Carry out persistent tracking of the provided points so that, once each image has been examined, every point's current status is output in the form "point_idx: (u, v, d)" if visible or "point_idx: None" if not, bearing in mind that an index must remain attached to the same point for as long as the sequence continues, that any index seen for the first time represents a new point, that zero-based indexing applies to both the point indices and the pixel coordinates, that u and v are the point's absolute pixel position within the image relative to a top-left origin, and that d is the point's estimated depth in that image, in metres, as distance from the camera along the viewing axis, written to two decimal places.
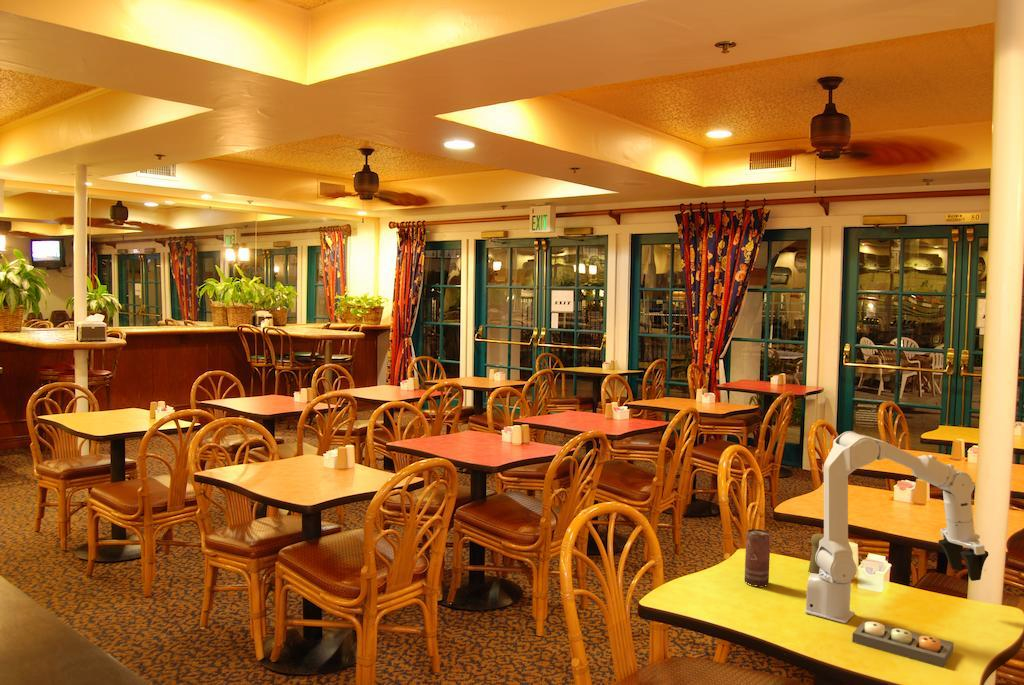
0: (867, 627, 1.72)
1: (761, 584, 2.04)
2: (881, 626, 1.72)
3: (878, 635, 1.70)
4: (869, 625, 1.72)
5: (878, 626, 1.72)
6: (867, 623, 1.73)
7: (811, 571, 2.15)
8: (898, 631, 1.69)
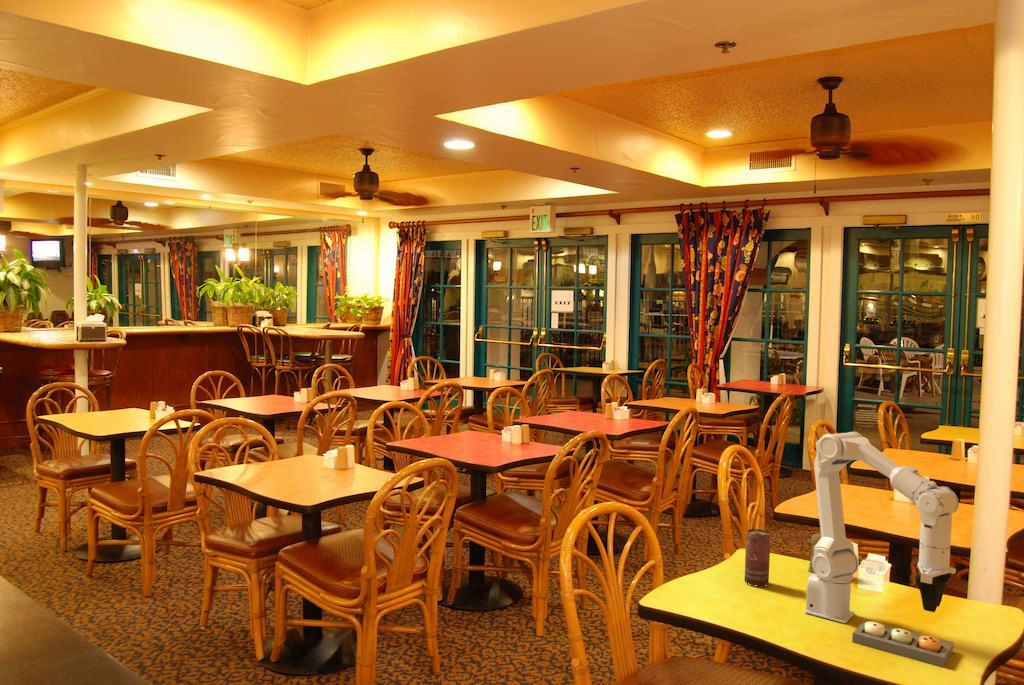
0: (867, 627, 1.72)
1: (761, 584, 2.04)
2: (881, 626, 1.72)
3: (878, 635, 1.70)
4: (869, 625, 1.72)
5: (878, 626, 1.72)
6: (867, 623, 1.73)
7: (811, 571, 2.15)
8: (898, 631, 1.69)
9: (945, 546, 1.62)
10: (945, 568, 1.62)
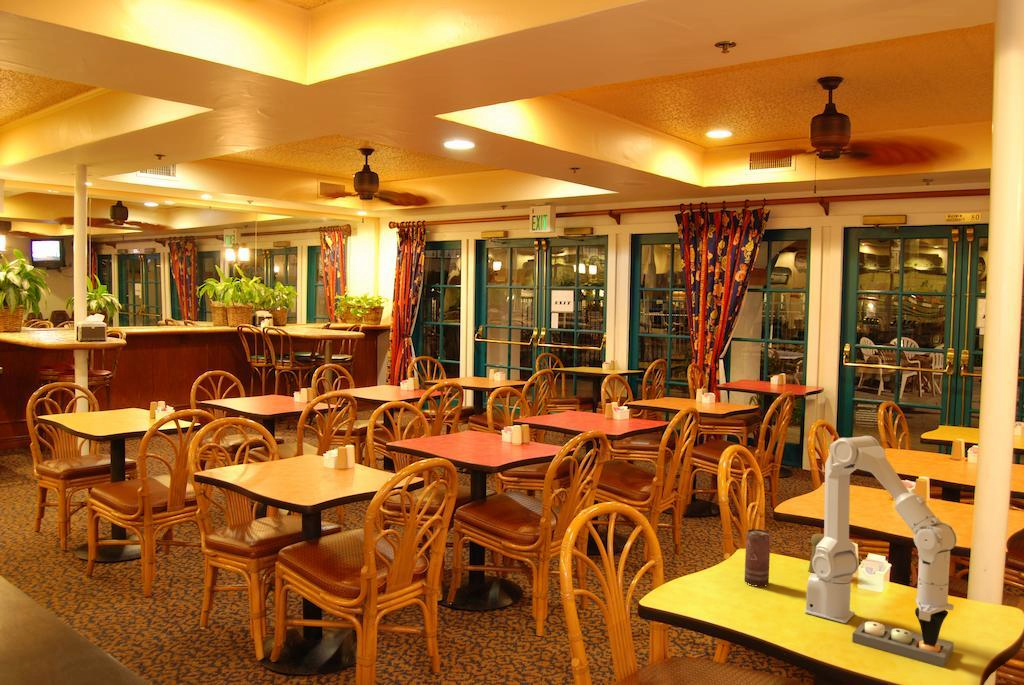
0: (867, 627, 1.72)
1: (761, 584, 2.04)
2: (881, 626, 1.72)
3: (878, 635, 1.70)
4: (869, 625, 1.72)
5: (878, 626, 1.72)
6: (867, 623, 1.73)
7: (811, 571, 2.15)
8: (898, 631, 1.69)
9: (943, 583, 1.62)
10: (943, 605, 1.62)
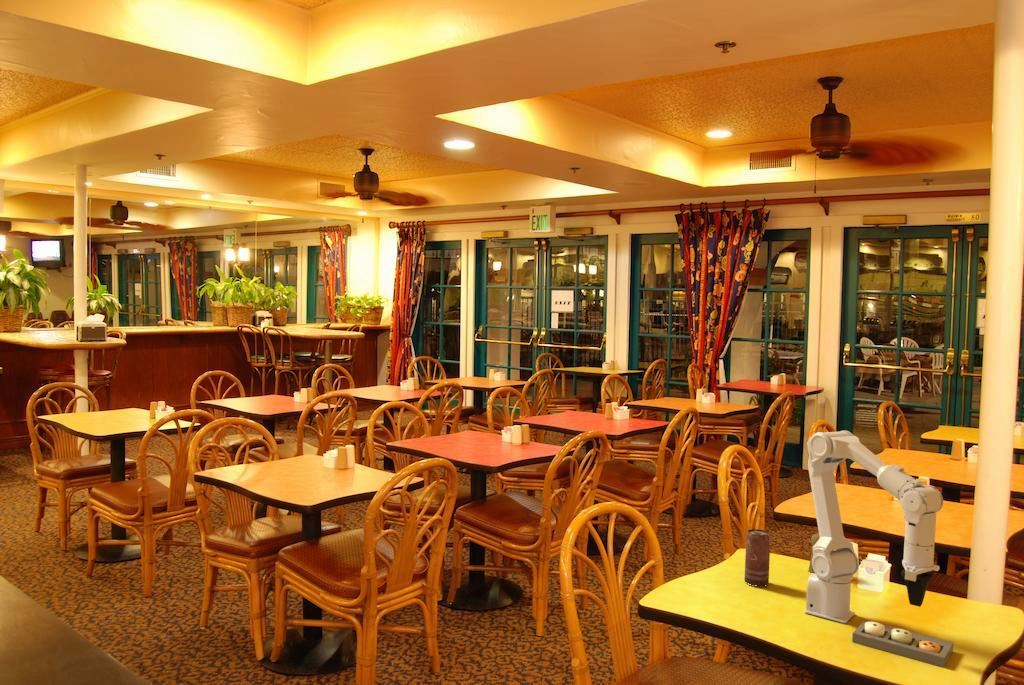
0: (867, 627, 1.72)
1: (761, 584, 2.04)
2: (881, 626, 1.72)
3: (878, 635, 1.70)
4: (869, 625, 1.72)
5: (878, 626, 1.72)
6: (867, 623, 1.73)
7: (811, 571, 2.15)
8: (898, 631, 1.69)
9: (928, 544, 1.63)
10: (929, 565, 1.64)
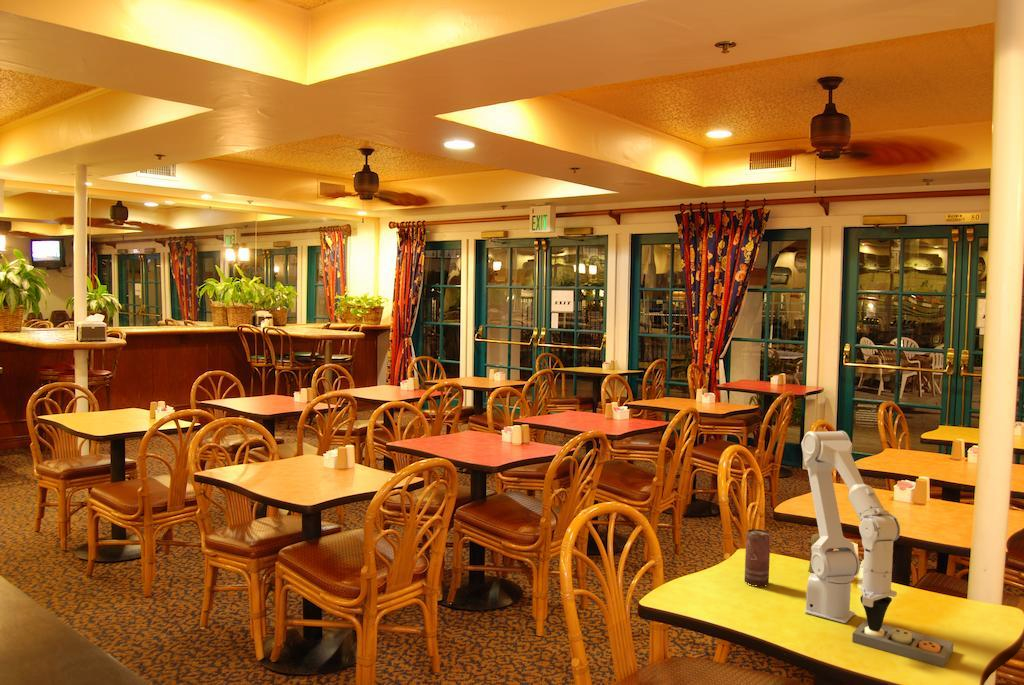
0: (867, 632, 1.72)
1: (761, 584, 2.04)
2: (881, 630, 1.72)
3: None
4: (869, 630, 1.72)
5: None
6: (867, 628, 1.73)
7: (811, 571, 2.15)
8: (898, 631, 1.69)
9: (883, 570, 1.69)
10: (886, 591, 1.69)
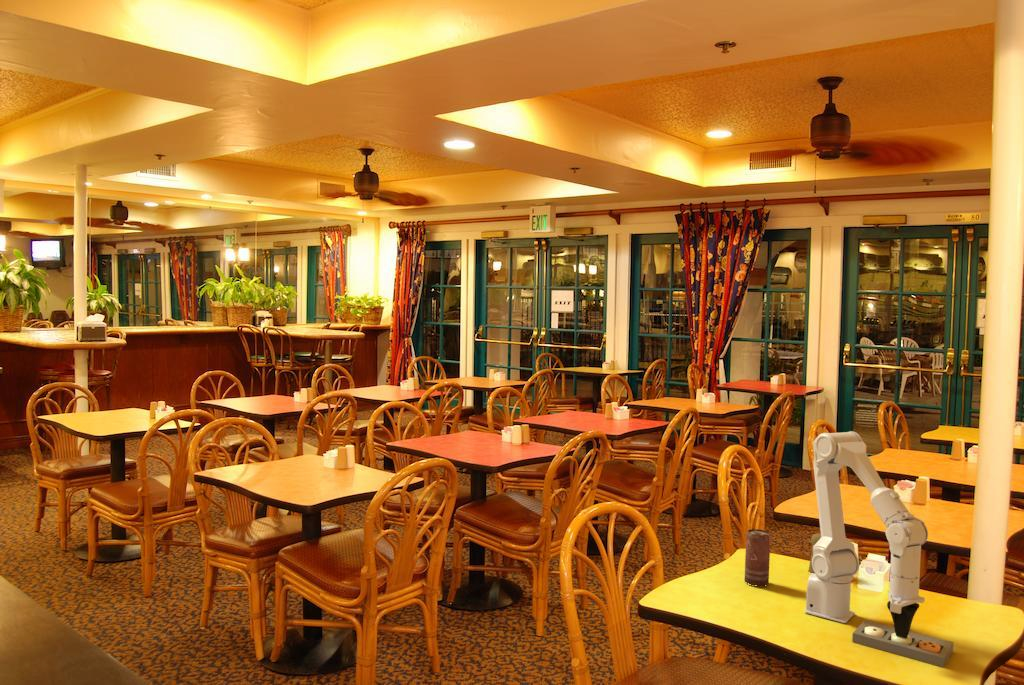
0: (867, 632, 1.72)
1: (761, 584, 2.04)
2: (881, 631, 1.72)
3: None
4: (869, 630, 1.72)
5: (878, 631, 1.72)
6: (867, 628, 1.73)
7: (811, 571, 2.15)
8: None
9: (913, 576, 1.65)
10: (914, 597, 1.66)
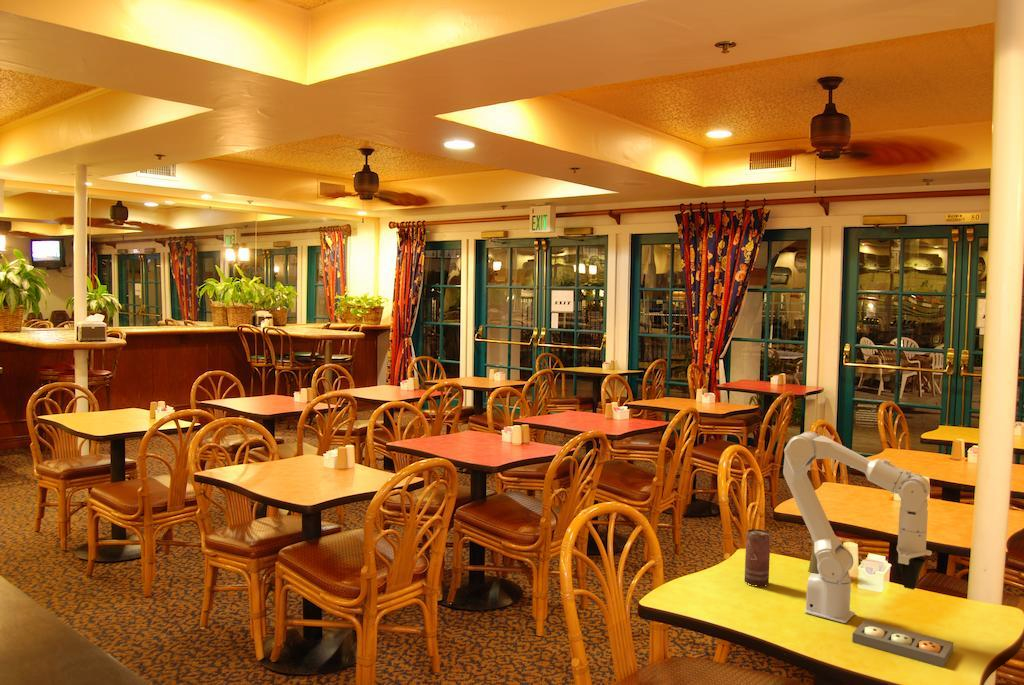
0: (867, 632, 1.72)
1: (761, 584, 2.04)
2: (881, 631, 1.72)
3: None
4: (869, 630, 1.72)
5: (878, 631, 1.72)
6: (867, 628, 1.73)
7: (811, 571, 2.15)
8: (898, 636, 1.69)
9: (925, 529, 1.74)
10: (921, 550, 1.74)
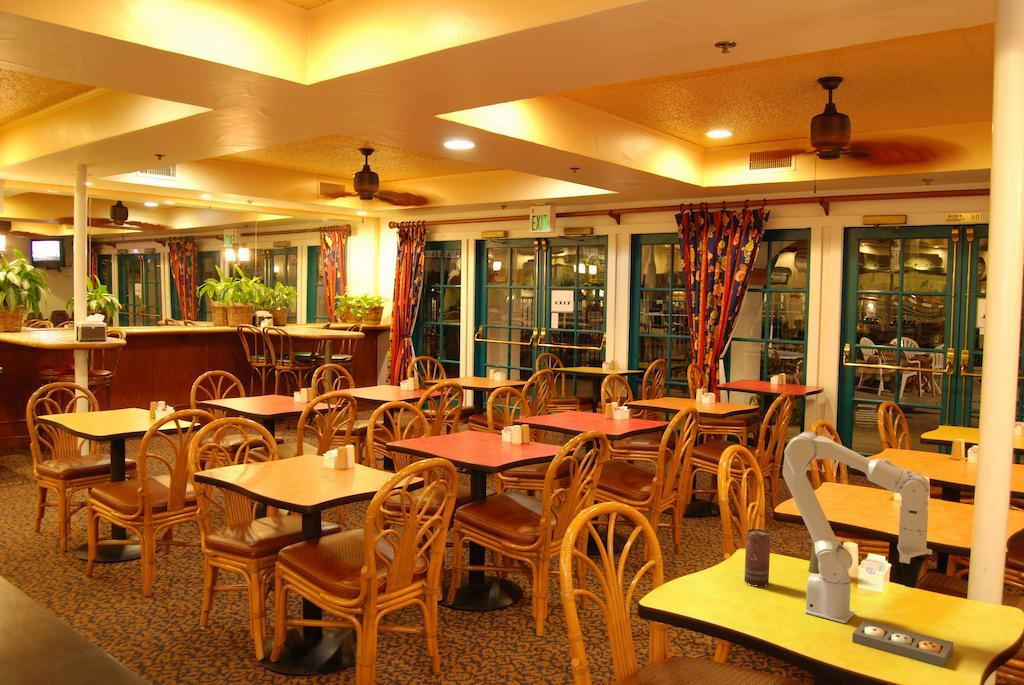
0: (867, 632, 1.72)
1: (761, 584, 2.04)
2: (881, 631, 1.72)
3: None
4: (869, 630, 1.72)
5: (878, 631, 1.72)
6: (867, 628, 1.73)
7: (811, 571, 2.15)
8: (898, 636, 1.69)
9: (926, 528, 1.75)
10: (922, 549, 1.75)
